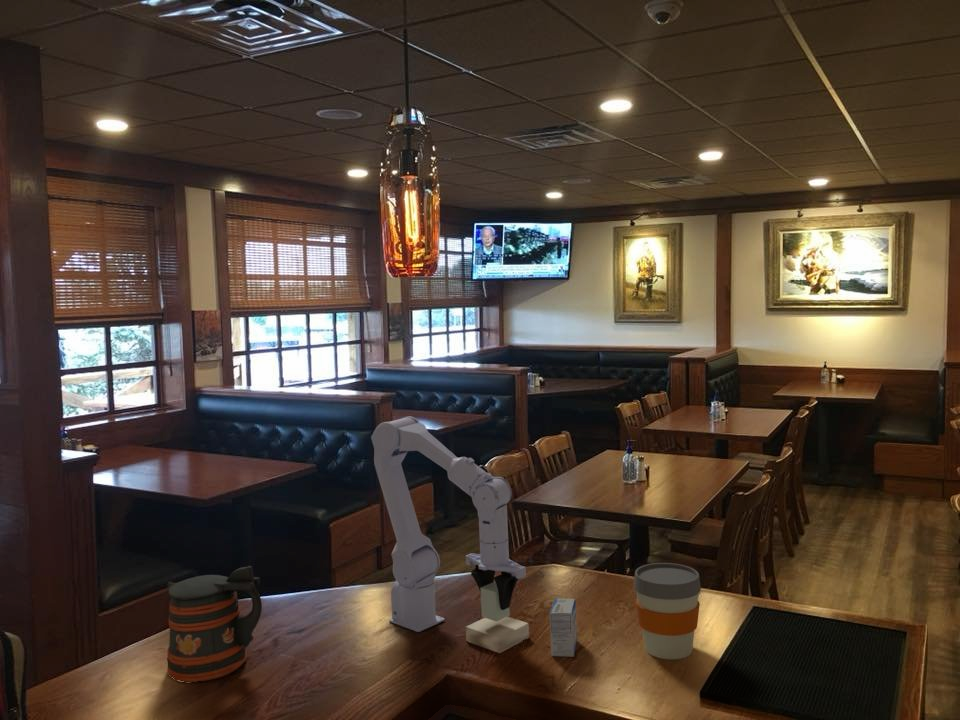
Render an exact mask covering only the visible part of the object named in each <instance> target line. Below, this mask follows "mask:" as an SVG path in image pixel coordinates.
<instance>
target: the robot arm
mask: <svg viewBox="0 0 960 720" xmlns="http://www.w3.org/2000/svg"><path fill="white" fill-rule="evenodd" d="M370 439H371V443H372V445H373V449H374V450H373V451H374V452H373V463H374V468H375V472H376V475H377V478H378V481H379V485H380V488H381V491H382V495H383V499H384V502H385V506H386V509H387V512H388V516H389V518H390V524H391V526H392V530H393V532H394V536H395V539H396V543H395V545H394V547H393V550H392V552H391V558H392V574H393V576H394V579H395V581H394V583H393V584H392V586H391V590H390V599H391V600H390V601H391V603H390V604H391V605H390V606H391V617H390V618H389V621H388V622H390V623H393V624H395V625H397V626H400V627H402V628H405V629H408V630H410V631H414V632H416V633H419V632H420V633H421V632H422V631H424V630H427V629H429V628H431V627H433V626H435V625H438V624H440V623H441V622H444V621H445V618H444V617H442V616H440V615H437V614H436V594H435V590H436V588H435V578H436V573H437V572H438V571H439V569H440V565H441V558H440V554H439V553H438V551H437V550H436V549H435V547H434V545H433V544H432V541H431V539H430V538H429V537H428V536H426V535H424V534H423V533H422V531H421V527H420V524H419V521H418V517H417V513H416V511H415V506H414V503H413V499H412V497H411V493H410V490H409V487H408V486H409V485H408V483H407V480H406V477H405V473H404V470H403V469H404V468H403V466H402V464H403V463H402V462H403V461H404V460H405V458H406V456H407V454H408V452H415V451H416V452H419V453H420V454H422V455H424V456H425V457H426V458H428V459H430V460H431V461H432V462H433V463H435V464H437V465H438V466H440V467H441V468H443V469H444V470H446V473H447V478H448V480H449V481H450V482H451V483H453V484H454V485H456V486H457V487H458V489H461V490H462V491H463V492H465V494H467V495H468V496H469V497H471V500H472V504H473V506H474V507H475V509H476V510H477V517H478V527H479V529H478V530H479V553H472V552H471V553H469V554H466V555H465V565H467V566H475V568H474V569H472V570H471V572H470V574H471V576H472V578H473V579H474V581H475V582H476V585H477V587H478V590H479V593H480V594H481V587H483V586H486V585H488V584H490V583H493V582H496V585H497V589H498V593H499V604H500V608H501V610H505V609H507V608H509V609H510V606H511V601H512V596H513V593H514V591H515V590H514V589H515V587H516V585H517V582H518V581H519V580H521V579H523V578H525V577H527V571H526V569H527V568H526V566H523V565H520V564H519V563H517V562H515V561H513V559H512V560H511V559H510V554H509V551H510V549H509V548H510V547H509V529H508V527H509V525H508V505H507V504H508V503H509V502H510V501H511V498H512V492H513V491H512V488H511V486H510V484H509V483H508V482H507V481H506V479H505V478H504V477H501V476H493V475H492V474H491V473H490V472H486V471H485V470H484V469H483V468H482V467H480V466H479V465H477V464H476V463H475V460H474V459H473V458H472V457H466V456H461V457H457V456H456V455H455V454H454V452H452V451H451V450H449V449H448V448H447V447H446V446H445V445H444V444H442V442H441V441H439V439H437V438H436V437H435V436H433V434H431V433H430V432H429V431H428V429H427V426H426V424H424V423H422V422H420V421H419V420H418V419H417V418H416V417H414V416H410V415H409V416H404V417H403V418H400V419H395V420H392V421H390V420H389V421H383V422H381V423H379V424H378V425H377V426H376V427H375V429H374V430H373V433H372V434H371V436H370ZM496 572H498V573H500V574H499V575H497V576H495V574H496Z"/></svg>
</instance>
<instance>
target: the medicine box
mask: <svg viewBox="0 0 960 720" xmlns="http://www.w3.org/2000/svg"><path fill="white" fill-rule="evenodd" d="M577 625H578V624H577V601H576V598H564V597H563V598H559V597H558V598H554V600H553V603H552V606H551V609H550V612H549V631H550V633H549V634H550V651H551V652H550V653H551V656H552V657H565V658H566V657H567V658H574V656H575V652H576V647H577V643H578V630H577V629H578V626H577Z"/></svg>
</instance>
